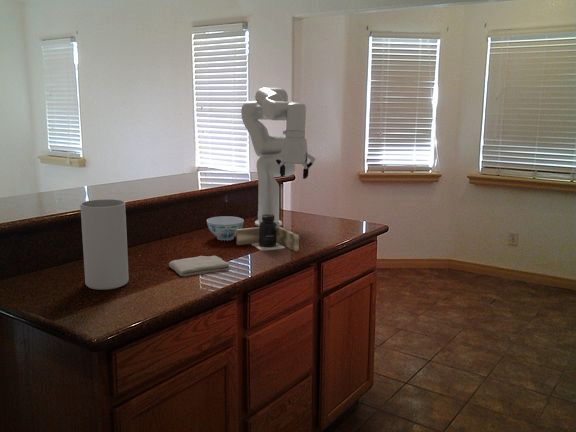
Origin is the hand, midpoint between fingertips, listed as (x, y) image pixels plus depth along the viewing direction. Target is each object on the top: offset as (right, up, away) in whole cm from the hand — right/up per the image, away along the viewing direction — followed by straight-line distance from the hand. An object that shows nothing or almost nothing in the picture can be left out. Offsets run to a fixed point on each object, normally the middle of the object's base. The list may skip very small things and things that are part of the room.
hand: (293, 177), depth 214 cm
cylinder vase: (-58, -37, -53) cm, 86 cm away
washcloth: (-32, -34, -36) cm, 59 cm away
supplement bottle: (-10, -27, -8) cm, 30 cm away
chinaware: (-28, -25, +3) cm, 38 cm away
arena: (-11, -28, -9) cm, 31 cm away
